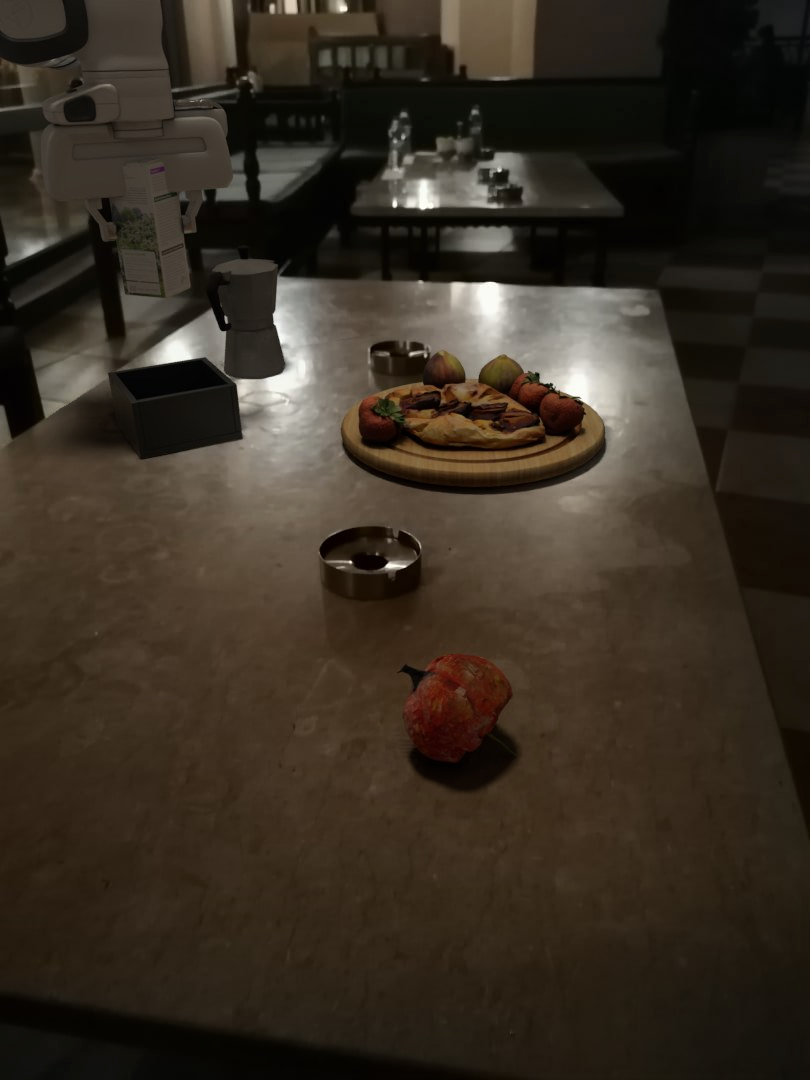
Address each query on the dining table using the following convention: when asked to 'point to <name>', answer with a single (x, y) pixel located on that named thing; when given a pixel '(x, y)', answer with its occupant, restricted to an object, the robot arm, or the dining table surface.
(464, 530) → the dining table surface
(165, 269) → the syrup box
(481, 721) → the red rounded piece
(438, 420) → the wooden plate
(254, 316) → the coffeepot
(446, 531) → the dining table surface
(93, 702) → the dining table surface
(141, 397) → the open box
